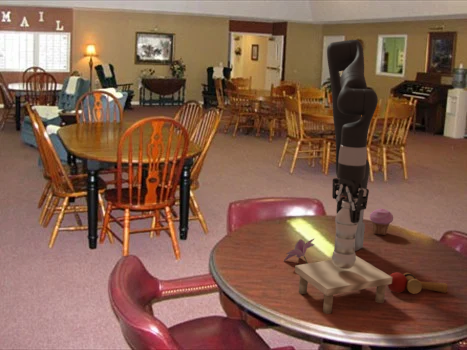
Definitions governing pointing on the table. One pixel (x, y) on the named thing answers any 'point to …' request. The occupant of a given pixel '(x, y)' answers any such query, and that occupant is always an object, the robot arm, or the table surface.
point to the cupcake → (381, 220)
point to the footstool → (341, 279)
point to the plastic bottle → (345, 237)
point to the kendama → (413, 284)
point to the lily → (300, 249)
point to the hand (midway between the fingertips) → (347, 218)
